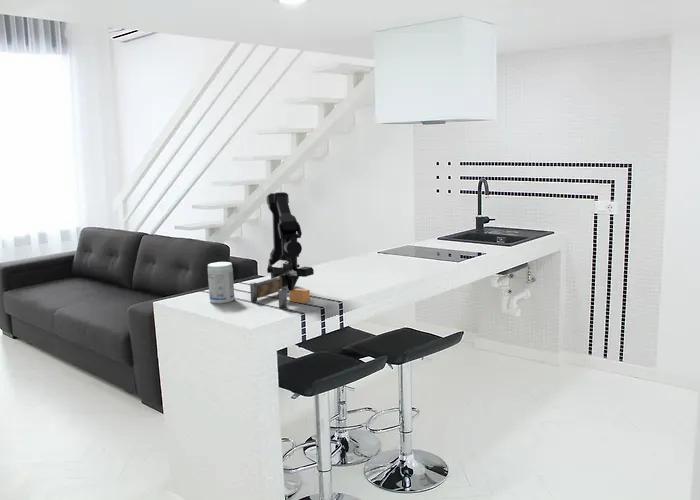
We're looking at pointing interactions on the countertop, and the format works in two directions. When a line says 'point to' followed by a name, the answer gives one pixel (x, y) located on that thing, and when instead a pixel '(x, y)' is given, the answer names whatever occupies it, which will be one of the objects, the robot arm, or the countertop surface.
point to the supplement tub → (221, 282)
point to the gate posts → (281, 293)
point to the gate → (269, 286)
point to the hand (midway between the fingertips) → (290, 291)
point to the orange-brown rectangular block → (299, 295)
